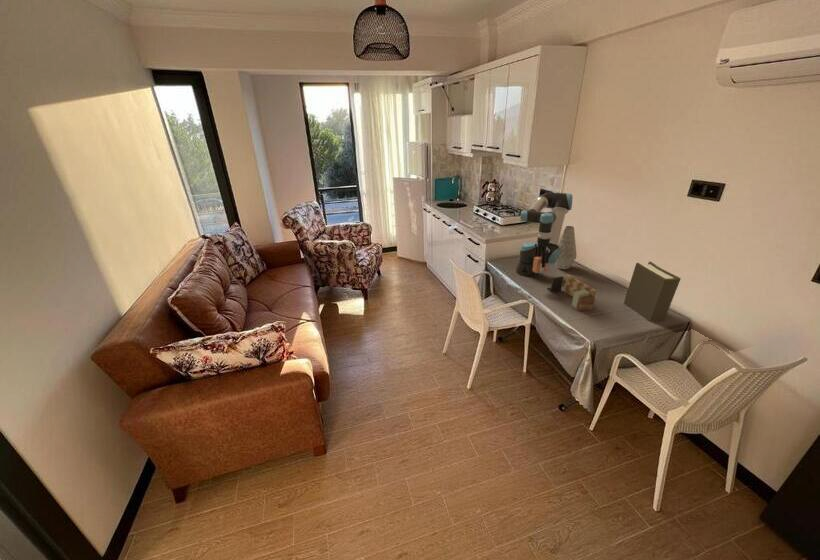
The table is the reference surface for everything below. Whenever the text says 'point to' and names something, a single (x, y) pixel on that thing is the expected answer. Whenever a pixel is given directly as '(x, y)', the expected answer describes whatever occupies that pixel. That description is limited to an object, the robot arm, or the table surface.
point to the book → (651, 291)
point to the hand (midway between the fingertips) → (539, 269)
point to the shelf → (576, 285)
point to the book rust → (538, 264)
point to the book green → (579, 296)
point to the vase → (567, 248)
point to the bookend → (556, 284)
